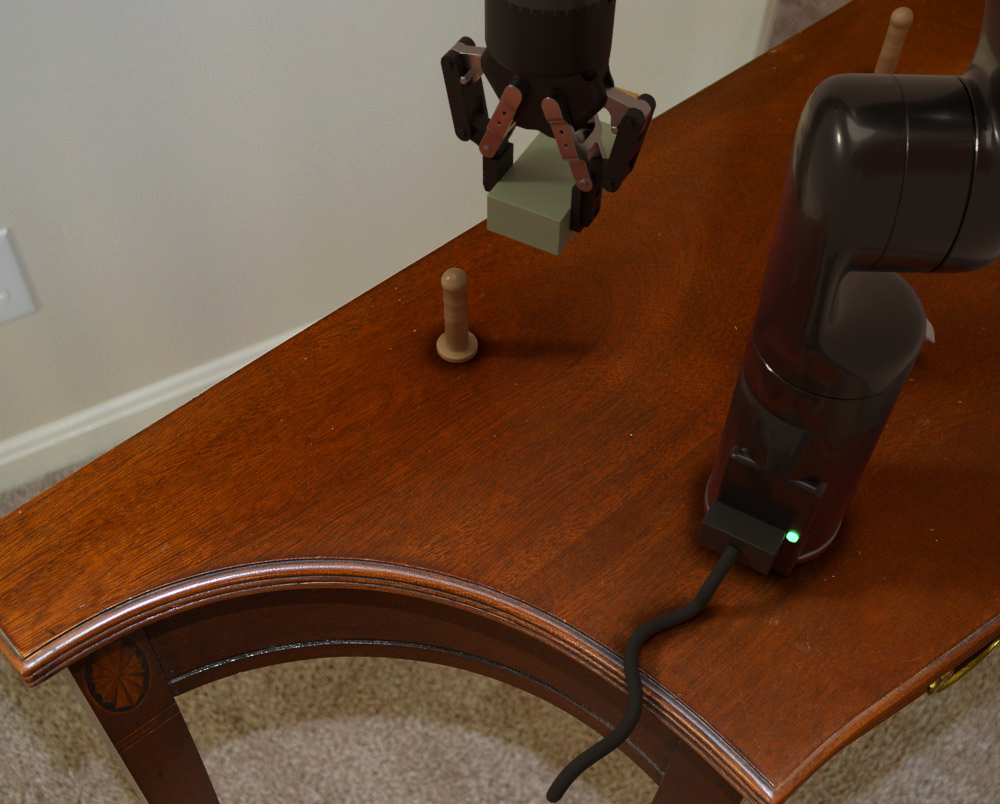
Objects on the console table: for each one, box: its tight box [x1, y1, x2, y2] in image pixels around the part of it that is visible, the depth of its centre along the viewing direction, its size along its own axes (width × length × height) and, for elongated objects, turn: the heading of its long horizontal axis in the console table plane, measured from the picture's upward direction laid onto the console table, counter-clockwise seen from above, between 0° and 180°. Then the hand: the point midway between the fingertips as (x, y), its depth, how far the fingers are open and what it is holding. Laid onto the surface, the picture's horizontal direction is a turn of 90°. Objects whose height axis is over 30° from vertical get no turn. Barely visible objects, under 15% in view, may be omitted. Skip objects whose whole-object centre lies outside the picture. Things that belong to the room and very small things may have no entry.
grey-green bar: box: [486, 86, 653, 256], centre depth 77 cm, size 17×6×3 cm, turn 152°
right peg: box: [873, 6, 914, 74], centre depth 102 cm, size 3×3×8 cm
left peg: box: [436, 267, 479, 364], centre depth 82 cm, size 3×3×8 cm
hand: (540, 209), depth 74 cm, fingers closed on grey-green bar, 5 cm apart
